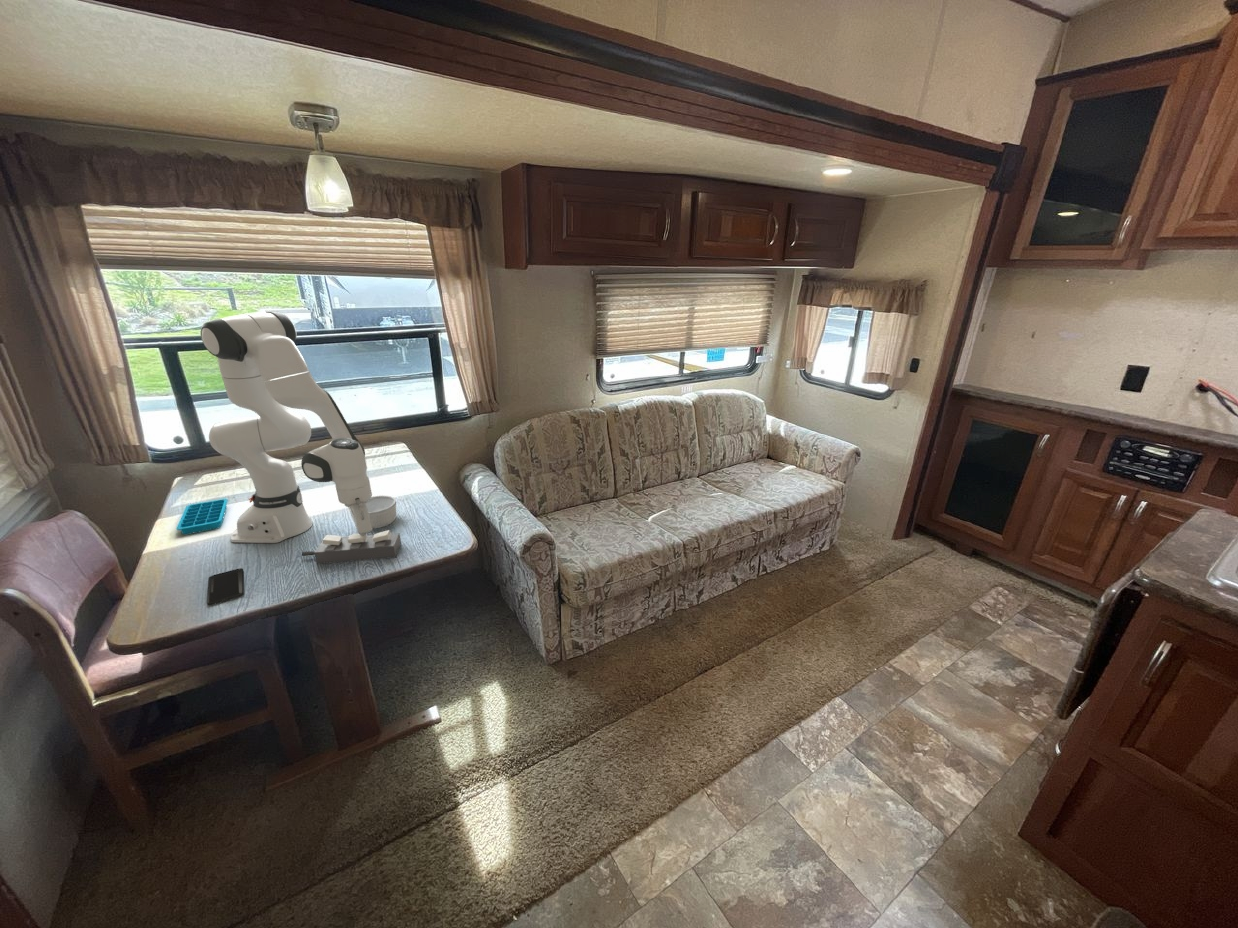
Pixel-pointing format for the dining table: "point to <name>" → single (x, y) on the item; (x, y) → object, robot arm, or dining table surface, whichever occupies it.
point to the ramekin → (381, 510)
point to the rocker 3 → (381, 536)
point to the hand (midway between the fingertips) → (362, 533)
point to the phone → (225, 586)
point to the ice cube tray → (202, 516)
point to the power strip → (356, 550)
